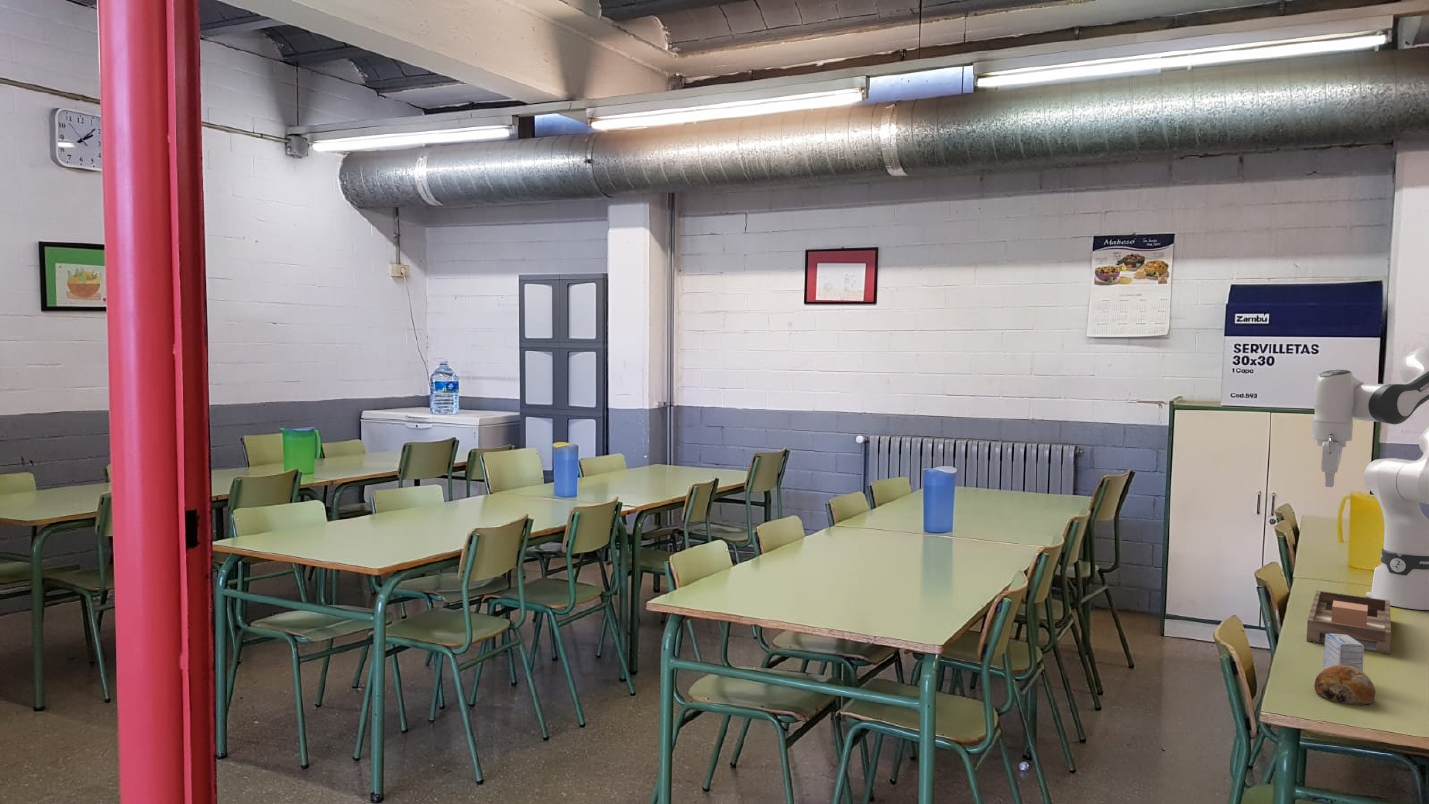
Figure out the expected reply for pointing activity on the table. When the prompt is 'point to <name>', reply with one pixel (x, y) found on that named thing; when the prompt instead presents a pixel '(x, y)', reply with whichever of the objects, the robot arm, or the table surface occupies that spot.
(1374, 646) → the tray
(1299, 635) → the table surface
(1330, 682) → the bread roll
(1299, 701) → the table surface
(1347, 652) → the medicine box
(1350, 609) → the block
